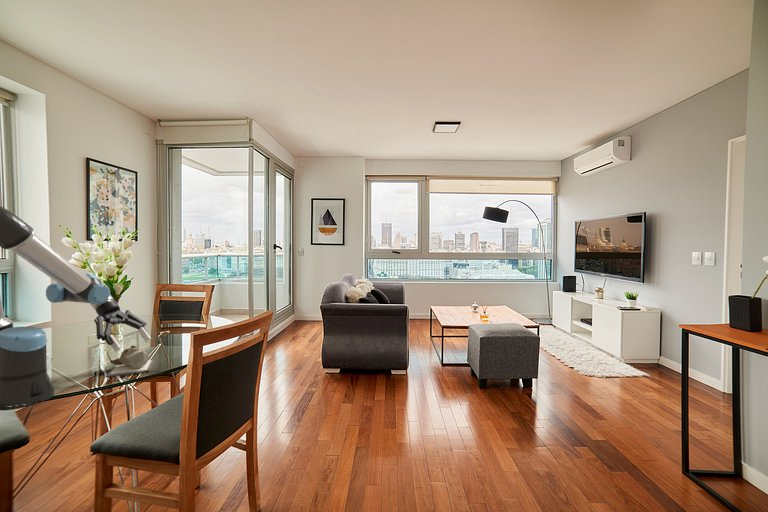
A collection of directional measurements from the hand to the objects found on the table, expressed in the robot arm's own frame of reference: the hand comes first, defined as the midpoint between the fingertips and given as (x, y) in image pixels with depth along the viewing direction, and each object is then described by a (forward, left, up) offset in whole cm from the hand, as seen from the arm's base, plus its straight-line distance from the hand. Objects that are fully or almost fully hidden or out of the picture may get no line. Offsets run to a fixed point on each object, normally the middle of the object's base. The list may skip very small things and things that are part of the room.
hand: (134, 345), depth 151 cm
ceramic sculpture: (-1, +1, -9) cm, 9 cm away
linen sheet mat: (-1, 0, -10) cm, 10 cm away
